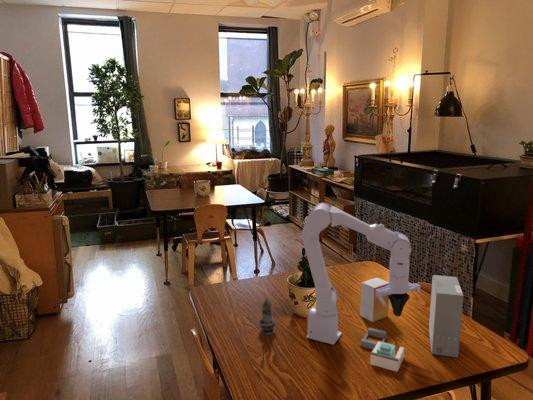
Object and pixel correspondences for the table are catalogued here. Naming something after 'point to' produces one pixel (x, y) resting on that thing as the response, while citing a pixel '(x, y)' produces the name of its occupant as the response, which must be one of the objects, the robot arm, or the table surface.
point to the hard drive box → (445, 315)
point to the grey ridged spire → (267, 319)
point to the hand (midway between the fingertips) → (397, 314)
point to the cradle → (374, 333)
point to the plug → (386, 349)
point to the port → (387, 359)
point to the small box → (373, 300)
